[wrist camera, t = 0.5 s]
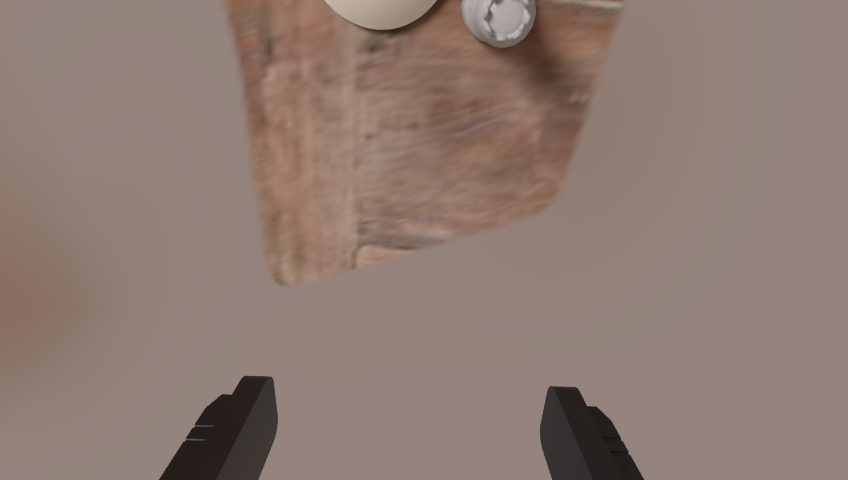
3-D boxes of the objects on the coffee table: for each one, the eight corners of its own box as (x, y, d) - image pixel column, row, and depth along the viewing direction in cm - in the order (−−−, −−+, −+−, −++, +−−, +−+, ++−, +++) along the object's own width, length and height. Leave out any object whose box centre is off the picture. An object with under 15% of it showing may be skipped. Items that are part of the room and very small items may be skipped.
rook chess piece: (539, -18, 27) (568, -15, 20) (509, 51, 29) (526, 74, 23) (476, -46, 26) (485, -52, 20) (451, 27, 29) (451, 44, 22)
